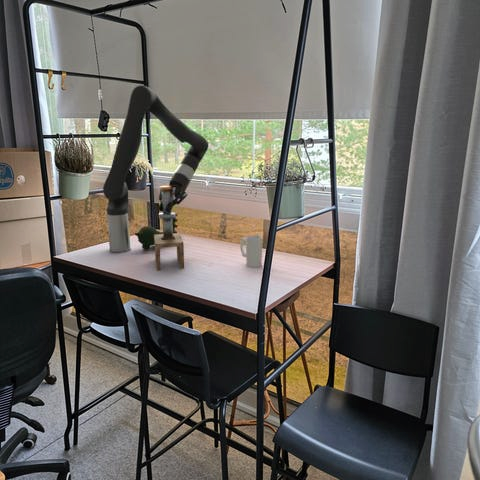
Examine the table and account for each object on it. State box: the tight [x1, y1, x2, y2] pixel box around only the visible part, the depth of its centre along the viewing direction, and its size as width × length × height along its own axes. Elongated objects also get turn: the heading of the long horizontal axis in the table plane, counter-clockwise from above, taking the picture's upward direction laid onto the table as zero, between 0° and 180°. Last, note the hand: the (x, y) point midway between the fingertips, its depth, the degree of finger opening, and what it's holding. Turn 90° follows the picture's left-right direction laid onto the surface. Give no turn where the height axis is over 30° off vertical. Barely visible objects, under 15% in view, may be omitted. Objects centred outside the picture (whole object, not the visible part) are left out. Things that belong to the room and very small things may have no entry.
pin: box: [158, 185, 177, 237], centre depth 174 cm, size 7×7×20 cm
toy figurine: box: [134, 210, 179, 251], centre depth 203 cm, size 9×19×25 cm
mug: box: [239, 234, 263, 268], centre depth 177 cm, size 10×7×12 cm, turn 56°
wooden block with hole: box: [154, 232, 185, 271], centre depth 178 cm, size 11×16×11 cm
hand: (163, 210), depth 172 cm, fingers closed on pin, 3 cm apart
